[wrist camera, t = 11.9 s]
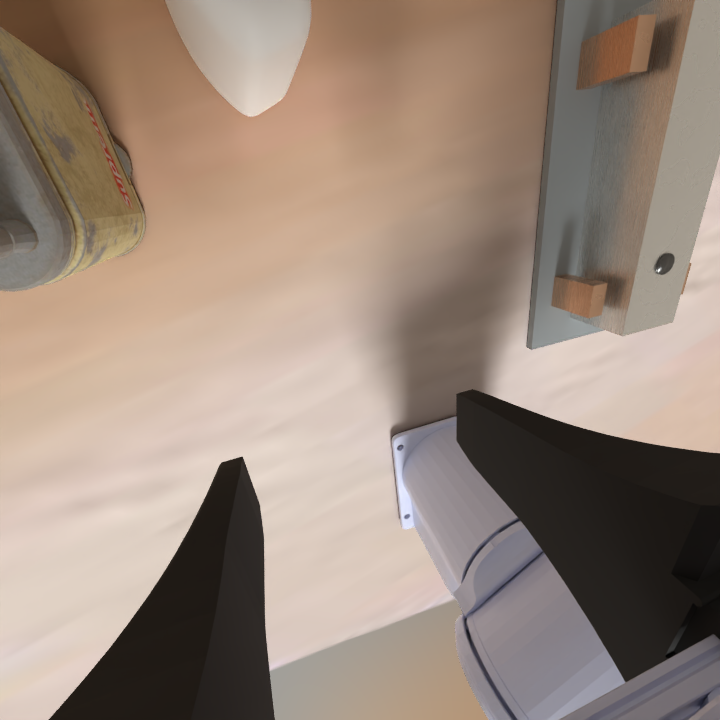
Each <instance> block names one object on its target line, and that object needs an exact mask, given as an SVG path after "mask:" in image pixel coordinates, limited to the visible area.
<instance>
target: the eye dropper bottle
mask: <svg viewBox="0 0 720 720" xmlns="http://www.w3.org/2000/svg"><path fill="white" fill-rule="evenodd" d="M165 2H166V5H167V7H168V10H169V12H170V15H171V17H172V20H173V22H174V24H175V26H176V29H177V31H178V33H179V35H180V37H181V39H182V41H183V43H184V45H185V46H186V48H187V50H188V52H189V53H190V55H191V57H192V58H193V60H194V61H195V63H196V65H197V66H198V67H199V69H200V70H201V72H202V73H203V74H204V76H205V77H206V78H207V80H208V81H209V82H210V83H211V84H212V86H213V87H214V88H215V89H216V90H217V91H218V92H219V93H220V94H221V96H222V97H223V98H225V99H226V100H227V101H228V102H229V103H230V104H231V105H232V106H233V107H234V108H235V109H237V110H238V111H239V112H241V113H242V114H244V115H246V116H249V117H252V116H257V115H259V114H260V113H262V112H264V111H265V110H267V109H268V108H270V107H272V106H273V105H275V104H276V103H278V102H279V101H280V100H282V98H283V97H284V96H285V95H286V93H287V90H288V88H289V85H290V83H291V80H292V78H293V75H294V73H295V70H296V68H297V65H298V62H299V60H300V57H301V55H302V52H303V49H304V46H305V43H306V40H307V37H308V34H309V29H310V22H311V0H165Z"/></svg>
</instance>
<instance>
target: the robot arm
mask: <svg viewBox="0 0 720 720" xmlns="http://www.w3.org/2000/svg"><path fill="white" fill-rule="evenodd" d="M399 445H401V446H400V447H398V446H399ZM392 450H393V459H394V468H395V478H396V487H397V496H398V505H399V514H400V523H401V526H402V528H403V529H410V528H412V527H415V528H416V530H417V532H418V534H419V536H420V537H421V539H422V541H423V543H424V545H425V547H426V549H427V551H428V553H429V555H430V556H431V558H432V560H433V562H434V564H435V566H436V568H437V570H438V572H439V574H440V575H441V577H442V579H443V581H444V583H445V585H446V587H447V589H448V590H449V592H450V593H451V595H452V596H453V597H454V598H455V599H456V601H457V603H458V604H459V606H460V608H461V610H462V612H463V613H462V614H461V616H459V617H458V618H457V620H456V622H455V633H456V648H457V653H458V657H459V660H460V663H461V666H462V669H463V671H464V674H465V676H466V678H467V681H468V683H469V685H470V687H471V689H472V691H473V693H474V695H475V697H476V699H477V700H478V702H479V704H480V706H481V708H482V709H483V711H484V713H485V714H486V716H487V718H488V719H489V720H720V453H709V452H701V451H693V450H686V449H679V448H672V447H666V446H660V445H654V444H648V443H643V442H638V441H633V440H628V439H623V438H619V437H614V436H610V435H606V434H602V433H598V432H595V431H591V430H587V429H583V428H580V427H576V426H573V425H570V424H567V423H564V422H560V421H557V420H554V419H551V418H548V417H546V416H543V415H540V414H537V413H534V412H532V411H529V410H526V409H524V408H521V407H518V406H516V405H513V404H511V403H508V402H506V401H503V400H500V399H498V398H495V397H493V396H490V395H487V394H485V393H482V392H479V391H476V390H473V389H472V390H468V391H465V392H462V393H458V394H457V416H455V417H452V418H448V419H445V420H442V421H438V422H435V423H432V424H428V425H425V426H422V427H418V428H415V429H412V430H408V431H405V432H402V433H398V434H396V435H394V436H393V438H392ZM49 720H275V718H274V709H273V701H272V691H271V682H270V673H269V663H268V653H267V643H266V631H265V594H264V535H263V526H262V519H261V511H260V504H259V501H258V499H257V496H256V493H255V490H254V487H253V485H252V482H251V479H250V476H249V473H248V470H247V468H246V465H245V462H244V459H243V457H239V458H236V459H232V460H229V461H226V462H222V463H221V464H220V466H219V468H218V470H217V472H216V475H215V477H214V479H213V482H212V484H211V486H210V488H209V491H208V493H207V495H206V497H205V499H204V501H203V503H202V505H201V507H200V509H199V511H198V513H197V515H196V517H195V519H194V521H193V523H192V525H191V527H190V529H189V531H188V532H187V534H186V536H185V538H184V539H183V541H182V543H181V545H180V546H179V548H178V550H177V552H176V553H175V555H174V557H173V559H172V560H171V562H170V563H169V565H168V567H167V568H166V570H165V571H164V573H163V575H162V576H161V578H160V579H159V581H158V582H157V584H156V585H155V587H154V588H153V590H152V591H151V593H150V594H149V596H148V597H147V599H146V600H145V601H144V603H143V604H142V606H141V607H140V608H139V610H138V611H137V612H136V614H135V615H134V617H133V618H132V619H131V621H130V622H129V623H128V625H127V626H126V627H125V629H124V630H123V631H122V633H121V634H120V635H119V637H118V638H117V639H116V641H115V642H114V643H113V645H112V646H111V647H110V648H109V650H108V651H107V652H106V653H105V655H104V656H103V657H102V658H101V659H100V661H99V662H98V663H97V664H96V665H95V667H94V668H93V669H92V670H91V672H90V673H89V674H88V675H87V676H86V678H85V679H84V680H83V681H82V682H81V683H80V685H79V686H78V687H77V688H76V689H75V690H74V692H73V693H72V694H71V695H70V696H69V697H68V699H67V700H66V701H65V702H64V703H63V704H62V705H61V706H60V708H59V709H58V710H57V711H56V712H55V713H54V714H53V716H52V717H51V718H50V719H49Z"/></svg>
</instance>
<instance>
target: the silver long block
mask: <svg viewBox="0 0 720 720" xmlns="http://www.w3.org/2000/svg"><path fill="white" fill-rule="evenodd" d="M652 14H657V16H656V22H655V27H654V33H653V38H652V44H651V49H650V55H649V60H648V66H647V71H645V72H642V73H639V74H635V75H632V76H629V77H626V78H623V79H620V80H617V81H614V82H611V83H608V84H605V85H602V91H601V98H600V105H599V112H598V119H597V126H596V133H595V141H594V148H593V155H592V162H591V169H590V176H589V183H588V190H587V197H586V204H585V211H584V218H583V225H582V233H581V240H580V247H579V254H578V261H577V268H576V275H575V276H579V277H584V278H588V279H593V280H597V281H601V282H606V283H608V284H607V289H606V295H605V300H604V305H603V311H602V315H600V316H596V317H592V318H586V317H583V316H580V315H577V314H574V313H571V312H570V318H573V319H575V320H578V321H581V322H584V323H587V324H589V325H592V326H595V327H598V328H601V329H603V330H606V331H609V332H612V333H615V334H617V335H620V336H625V335H629V334H632V333H636V332H639V331H643V330H647V329H650V328H654V327H657V326H661V325H665V324H668V323H672V322H673V320H674V316H675V313H676V309H677V306H678V302H679V299H680V295H681V291H682V288H683V284H684V281H685V277H686V273H687V270H688V266H689V263H690V259H691V255H692V252H693V248H694V245H695V241H696V237H697V234H698V230H699V227H700V223H701V220H702V216H703V212H704V209H705V205H706V202H707V198H708V194H709V191H710V187H711V184H712V180H713V176H714V173H715V169H716V166H717V162H718V159H719V155H720V0H653V1H651V2H649V3H647V4H645V5H643V6H641V7H639V8H637V9H635V10H633V11H631V12H629V13H627V14H624V15H622V16H620V17H618V18H616V19H614V20H612V21H611V27H610V28H613V27H615V26H617V25H619V24H621V23H623V22H625V21H627V20H630V19H632V18H634V17H636V16H638V15H652Z"/></svg>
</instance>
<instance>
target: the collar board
mask: <svg viewBox="0 0 720 720" xmlns="http://www.w3.org/2000/svg"><path fill="white" fill-rule="evenodd" d="M651 1H653V0H558V2H557V13H556V24H555V35H554V46H553V58H552V69H551V80H550V91H549V102H548V114H547V125H546V136H545V147H544V159H543V170H542V181H541V192H540V203H539V215H538V226H537V237H536V248H535V260H534V271H533V282H532V293H531V304H530V316H529V327H528V338H527V348H529V349H531V350H532V349H536V348H540V347H544V346H547V345H551V344H555V343H558V342H562V341H566V340H570V339H573V338H577V337H581V336H584V335H588V334H592V333H596V332H599V331H603V329H601V328H598V327H595V326H592V325H589V324H587V323H584V322H581V321H578V320H575V319H573V318H570V312H571V313H574V314H577V315H580V316H583V317H586V318H592V317H596V316H600V315H602V311H603V305H604V300H605V295H606V289H607V284H608V283H606V282H601V281H597V280H593V279H588V278H584V277H579V276H575V275H576V268H577V261H578V254H579V247H580V240H581V233H582V225H583V218H584V211H585V204H586V197H587V190H588V183H589V176H590V169H591V162H592V155H593V148H594V141H595V133H596V126H597V119H598V112H599V105H600V98H601V91H602V85H605V84H608V83H611V82H614V81H617V80H620V79H623V78H626V77H629V76H632V75H635V74H639V73H642V72H645V71H647V66H648V60H649V55H650V49H651V44H652V38H653V33H654V27H655V22H656V16H657V14H652V15H638V16H636V17H634V18H632V19H630V20H627V21H625V22H623V23H621V24H619V25H617V26H615V27H613V28H610V27H611V21H612V20H614V19H616V18H618V17H620V16H622V15H624V14H627V13H629V12H631V11H633V10H635V9H637V8H639V7H641V6H643V5H645V4H647V3H649V2H651ZM690 266H691V263H689V266H688V270H687V273H686V277H685V281H684V284H683V288H682V291H681V294H683V291H684V288H685V284H686V281H687V277H688V273H689V270H690Z"/></svg>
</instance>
